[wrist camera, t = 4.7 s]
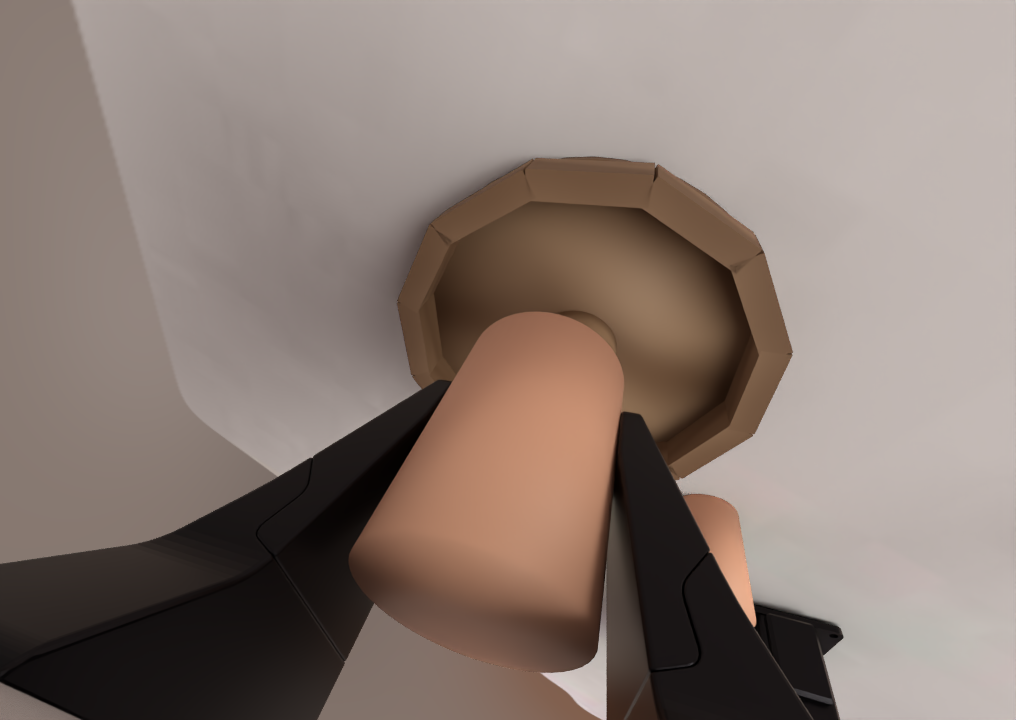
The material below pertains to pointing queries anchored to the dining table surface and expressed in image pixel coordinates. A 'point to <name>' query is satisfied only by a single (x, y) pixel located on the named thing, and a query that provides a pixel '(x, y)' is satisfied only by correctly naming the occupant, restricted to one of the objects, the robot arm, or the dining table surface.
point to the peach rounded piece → (506, 502)
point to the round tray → (611, 292)
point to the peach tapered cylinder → (724, 544)
